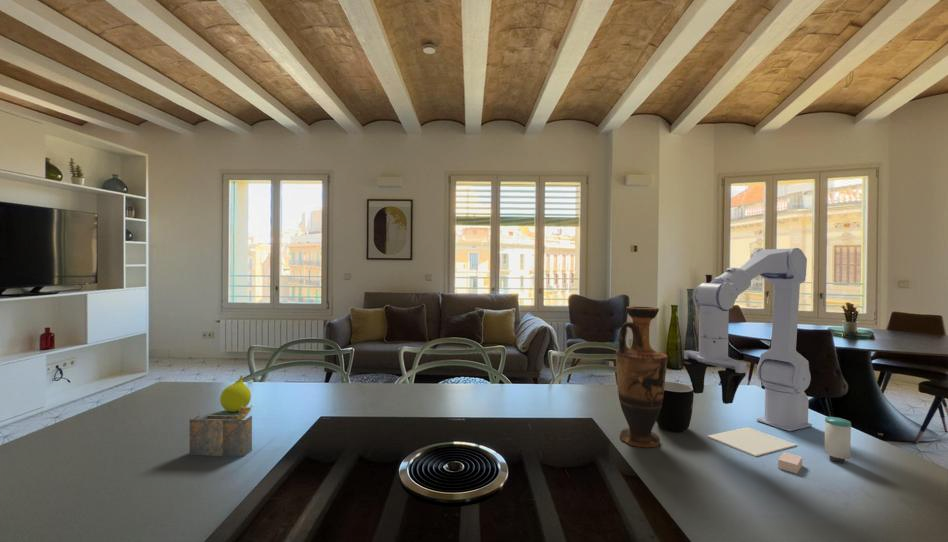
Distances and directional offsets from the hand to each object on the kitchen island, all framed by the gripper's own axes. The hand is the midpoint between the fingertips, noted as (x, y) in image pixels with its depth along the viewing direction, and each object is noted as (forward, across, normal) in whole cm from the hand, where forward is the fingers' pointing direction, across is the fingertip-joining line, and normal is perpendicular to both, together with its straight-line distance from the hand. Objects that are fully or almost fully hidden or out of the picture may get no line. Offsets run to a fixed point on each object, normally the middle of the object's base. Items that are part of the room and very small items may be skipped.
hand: (712, 397), depth 95 cm
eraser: (+10, +14, +5) cm, 18 cm away
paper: (+10, +2, +9) cm, 14 cm away
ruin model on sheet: (+10, -27, -102) cm, 106 cm away
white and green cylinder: (+10, +15, +17) cm, 25 cm away
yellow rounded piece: (+10, -54, -104) cm, 117 cm away
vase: (+10, -6, -15) cm, 19 cm away
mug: (+10, -11, -1) cm, 15 cm away
